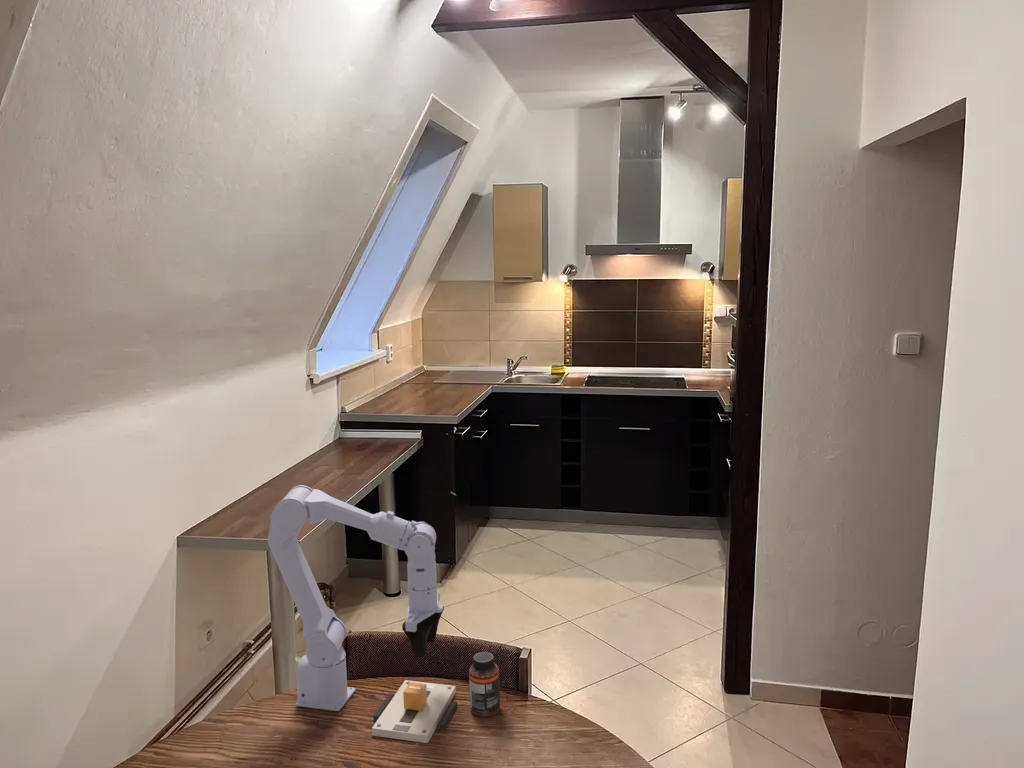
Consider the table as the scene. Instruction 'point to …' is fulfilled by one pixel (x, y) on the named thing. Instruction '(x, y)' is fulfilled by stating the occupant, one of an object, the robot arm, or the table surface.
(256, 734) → the table surface
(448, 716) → the twin dark grey rails
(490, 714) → the supplement bottle
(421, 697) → the orange cube
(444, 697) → the panel
